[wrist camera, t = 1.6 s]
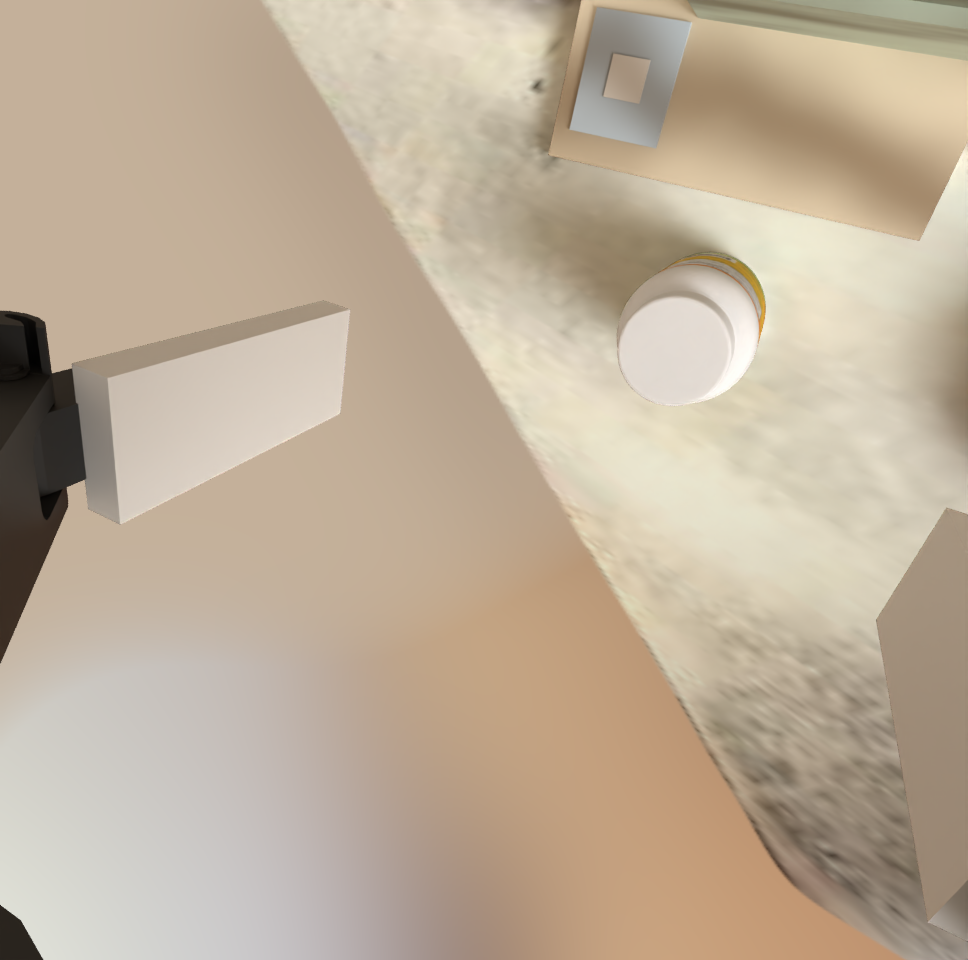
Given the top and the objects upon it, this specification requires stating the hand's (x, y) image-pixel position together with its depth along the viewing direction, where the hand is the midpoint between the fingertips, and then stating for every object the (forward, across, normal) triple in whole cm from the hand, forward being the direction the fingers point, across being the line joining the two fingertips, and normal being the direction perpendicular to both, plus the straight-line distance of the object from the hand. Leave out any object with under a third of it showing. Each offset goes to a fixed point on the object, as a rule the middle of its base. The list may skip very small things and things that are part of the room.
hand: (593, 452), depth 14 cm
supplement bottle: (+21, 0, 0) cm, 21 cm away
